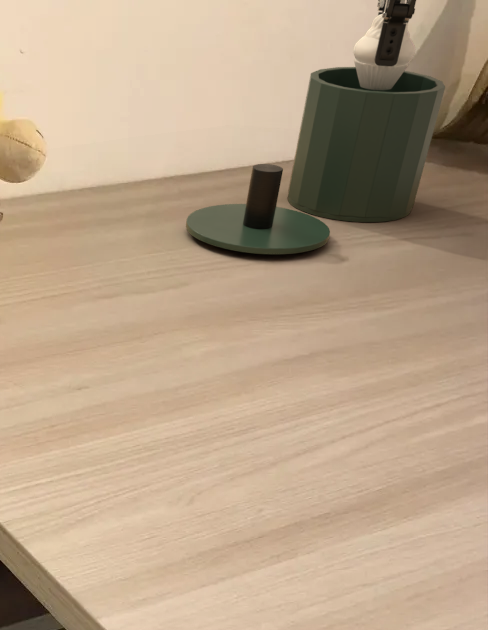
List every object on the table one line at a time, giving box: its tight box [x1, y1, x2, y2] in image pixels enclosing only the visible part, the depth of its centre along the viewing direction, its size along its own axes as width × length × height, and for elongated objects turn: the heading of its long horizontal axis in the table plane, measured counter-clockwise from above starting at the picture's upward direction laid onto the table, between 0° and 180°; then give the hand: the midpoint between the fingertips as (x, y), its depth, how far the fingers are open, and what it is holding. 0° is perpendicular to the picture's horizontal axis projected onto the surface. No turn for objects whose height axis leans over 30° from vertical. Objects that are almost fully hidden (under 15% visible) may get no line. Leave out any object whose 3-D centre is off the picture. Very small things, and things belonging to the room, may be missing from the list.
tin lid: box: [185, 163, 331, 255], centre depth 105 cm, size 15×15×7 cm
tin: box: [286, 66, 446, 223], centre depth 113 cm, size 14×14×12 cm
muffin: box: [353, 14, 416, 90], centre depth 107 cm, size 6×6×7 cm
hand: (382, 58), depth 108 cm, fingers closed on muffin, 6 cm apart
